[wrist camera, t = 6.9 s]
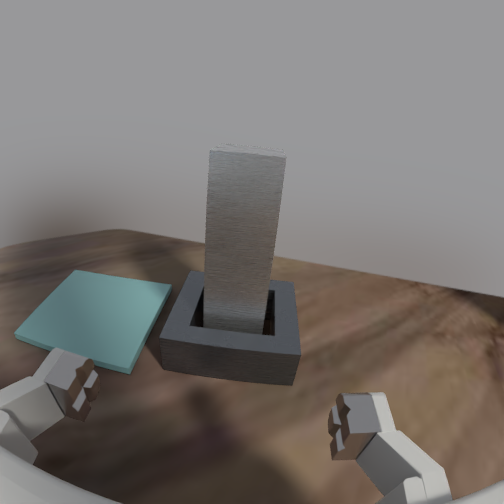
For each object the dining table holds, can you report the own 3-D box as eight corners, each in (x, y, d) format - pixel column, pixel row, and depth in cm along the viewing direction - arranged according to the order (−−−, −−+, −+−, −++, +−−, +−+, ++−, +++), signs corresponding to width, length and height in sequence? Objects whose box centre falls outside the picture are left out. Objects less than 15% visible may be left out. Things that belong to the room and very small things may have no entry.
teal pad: (171, 290, 28) (171, 284, 28) (130, 374, 18) (128, 368, 18) (76, 274, 28) (75, 269, 28) (16, 338, 18) (14, 332, 18)
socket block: (287, 310, 27) (293, 282, 26) (292, 385, 19) (301, 354, 18) (190, 299, 27) (190, 270, 26) (163, 369, 19) (158, 337, 18)
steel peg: (260, 324, 25) (283, 149, 19) (258, 358, 21) (286, 157, 15) (212, 319, 25) (221, 143, 19) (203, 351, 21) (209, 150, 15)
